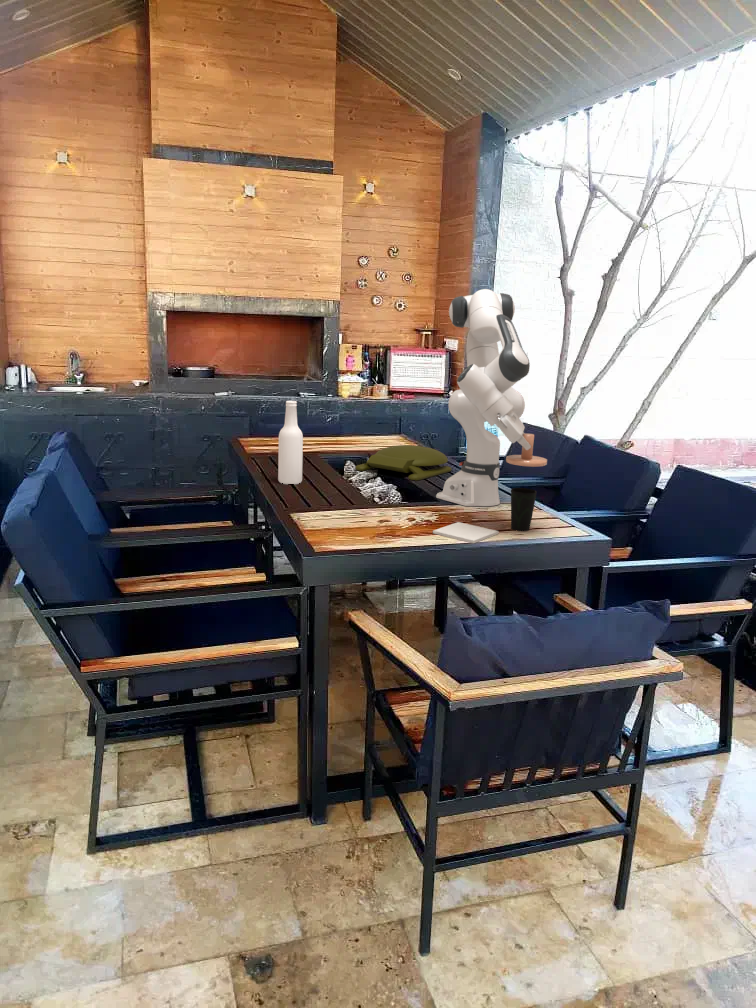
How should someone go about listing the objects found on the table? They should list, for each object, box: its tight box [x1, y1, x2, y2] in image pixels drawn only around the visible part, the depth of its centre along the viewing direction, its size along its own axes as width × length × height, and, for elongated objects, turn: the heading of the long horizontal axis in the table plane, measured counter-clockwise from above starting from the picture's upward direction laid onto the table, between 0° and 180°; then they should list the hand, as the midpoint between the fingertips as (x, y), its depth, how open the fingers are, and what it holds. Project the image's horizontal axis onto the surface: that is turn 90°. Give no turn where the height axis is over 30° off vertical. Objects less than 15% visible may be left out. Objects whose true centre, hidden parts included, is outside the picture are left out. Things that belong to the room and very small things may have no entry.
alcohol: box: [277, 400, 304, 485], centre depth 278 cm, size 9×9×30 cm
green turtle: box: [354, 444, 453, 482], centre depth 314 cm, size 35×31×10 cm
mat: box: [432, 521, 499, 544], centre depth 224 cm, size 14×14×1 cm
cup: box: [510, 487, 537, 532], centre depth 231 cm, size 8×8×12 cm
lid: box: [505, 432, 548, 468], centre depth 226 cm, size 12×12×8 cm
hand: (529, 447), depth 226 cm, fingers closed on lid, 3 cm apart
